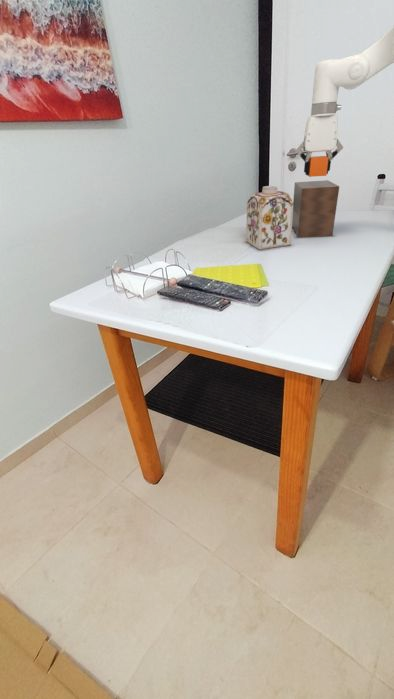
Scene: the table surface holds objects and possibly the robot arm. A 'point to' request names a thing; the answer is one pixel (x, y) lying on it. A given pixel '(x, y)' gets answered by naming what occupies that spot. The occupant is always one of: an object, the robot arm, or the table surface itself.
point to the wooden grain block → (314, 208)
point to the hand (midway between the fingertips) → (316, 173)
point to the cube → (318, 166)
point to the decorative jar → (269, 218)
